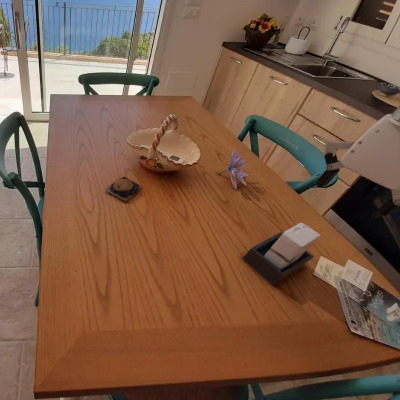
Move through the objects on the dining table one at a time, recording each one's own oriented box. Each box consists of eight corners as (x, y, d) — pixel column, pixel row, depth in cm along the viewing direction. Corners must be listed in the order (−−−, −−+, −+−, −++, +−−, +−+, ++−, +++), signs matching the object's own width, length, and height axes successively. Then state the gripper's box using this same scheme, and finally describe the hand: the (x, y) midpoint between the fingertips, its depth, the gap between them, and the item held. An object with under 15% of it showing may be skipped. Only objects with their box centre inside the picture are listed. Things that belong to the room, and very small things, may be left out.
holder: (303, 266, 72) (314, 256, 69) (273, 285, 67) (284, 276, 64) (272, 242, 78) (281, 231, 75) (242, 258, 73) (250, 248, 70)
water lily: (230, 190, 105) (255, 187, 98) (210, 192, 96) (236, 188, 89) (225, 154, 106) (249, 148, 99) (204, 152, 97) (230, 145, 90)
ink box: (274, 276, 69) (303, 248, 61) (257, 261, 72) (281, 232, 64) (294, 263, 72) (323, 235, 64) (276, 249, 75) (302, 221, 67)
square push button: (125, 203, 87) (127, 195, 84) (105, 191, 90) (106, 183, 88) (142, 188, 93) (145, 180, 90) (122, 177, 97) (124, 169, 94)
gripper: (517, 139, 37) (409, 223, 49) (373, 94, 48) (312, 171, 60) (502, 150, 34) (391, 236, 46) (352, 100, 46) (293, 179, 57)
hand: (347, 199), depth 53 cm, fingers open, 9 cm apart
